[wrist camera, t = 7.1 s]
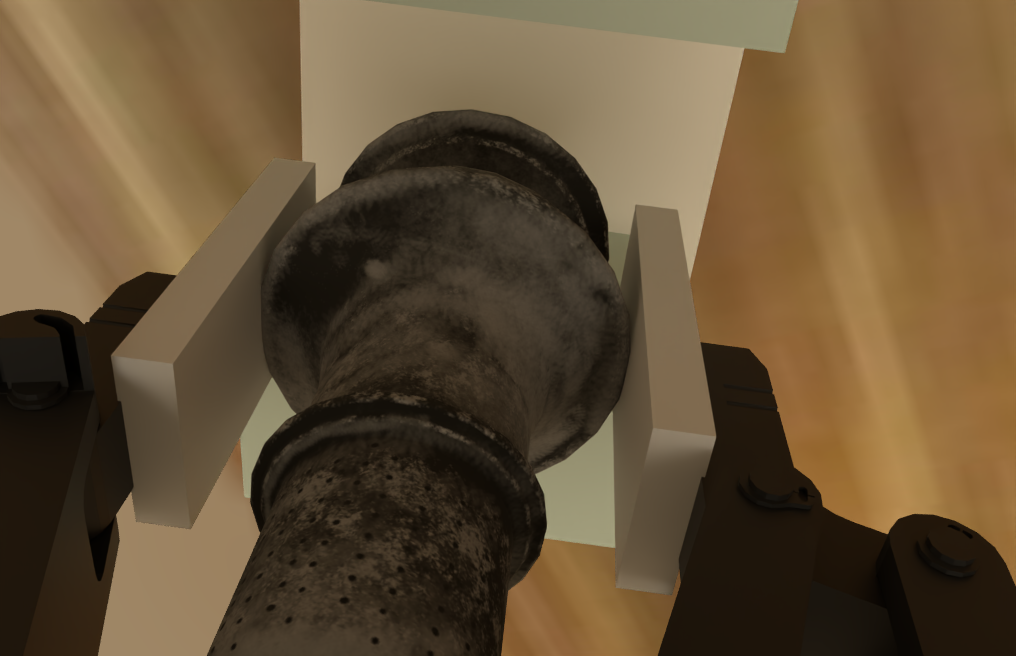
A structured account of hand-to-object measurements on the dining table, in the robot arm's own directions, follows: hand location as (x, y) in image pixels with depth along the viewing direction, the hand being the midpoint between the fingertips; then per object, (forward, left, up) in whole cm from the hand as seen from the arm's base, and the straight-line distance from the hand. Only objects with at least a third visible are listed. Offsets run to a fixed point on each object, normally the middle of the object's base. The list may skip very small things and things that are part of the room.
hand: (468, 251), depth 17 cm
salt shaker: (0, 0, -1) cm, 1 cm away
